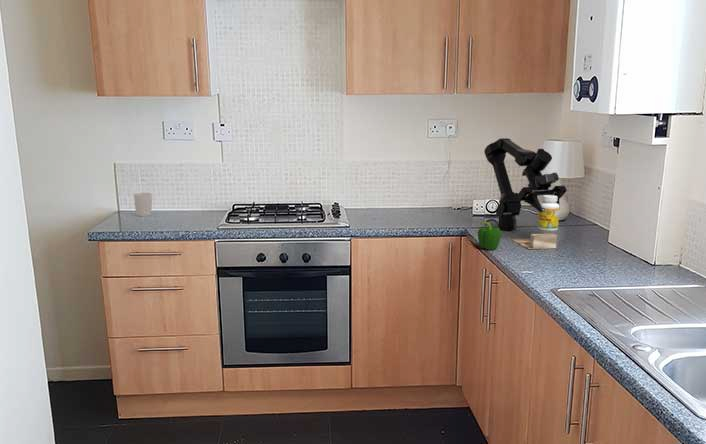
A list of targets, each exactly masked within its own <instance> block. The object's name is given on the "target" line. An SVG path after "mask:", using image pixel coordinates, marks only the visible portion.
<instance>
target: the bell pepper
mask: <svg viewBox="0 0 706 444" xmlns="http://www.w3.org/2000/svg"><path fill="white" fill-rule="evenodd" d="M482 224H483V225H487V227H486V226H481V227H480V228H479V229H478V232H477V239H478V245H479V246H480V248H481V249H485V250H489V251H492V250H497V248H498V247H499V244H500V241H501V236H502V231H501V230H500V228H498V227H493V226H491V223H489V222H487V221H483V222H482Z"/></svg>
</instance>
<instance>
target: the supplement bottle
mask: <svg viewBox="0 0 706 444" xmlns="http://www.w3.org/2000/svg"><path fill="white" fill-rule="evenodd" d="M557 198H558V197H557V196H554V195H542V199H541V200H542V202H541V203H540V205H541V208H542V212H539V211H538V225H537V227H538V230H540V231H545V232H556V231H557V230H558V229H559V220H560V219H559V217H560V210H559V207H560V203H559V204H557V203H556V202H557Z"/></svg>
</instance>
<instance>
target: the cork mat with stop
mask: <svg viewBox="0 0 706 444" xmlns="http://www.w3.org/2000/svg"><path fill="white" fill-rule="evenodd" d="M557 240H558V235H557V234H555V233H532V234H530V238H511V241H512V242H515V243H516V244H518V245H519V244H520V246H521V245H522V246H521V247H523V246H524V247H523V248H525V247H526V248H525V249H527V248H528V249H546V250H550V249H549V248H556V246H557ZM528 249H527V250H528Z"/></svg>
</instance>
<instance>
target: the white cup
mask: <svg viewBox="0 0 706 444" xmlns="http://www.w3.org/2000/svg"><path fill="white" fill-rule="evenodd" d="M152 195H153V194H152V193H151V192H137V193H133V200H134V208H135V213H136V216H137V217H148V216H149V217H150V216H151V215H152V206H153V205H152V197H153V196H152Z"/></svg>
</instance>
